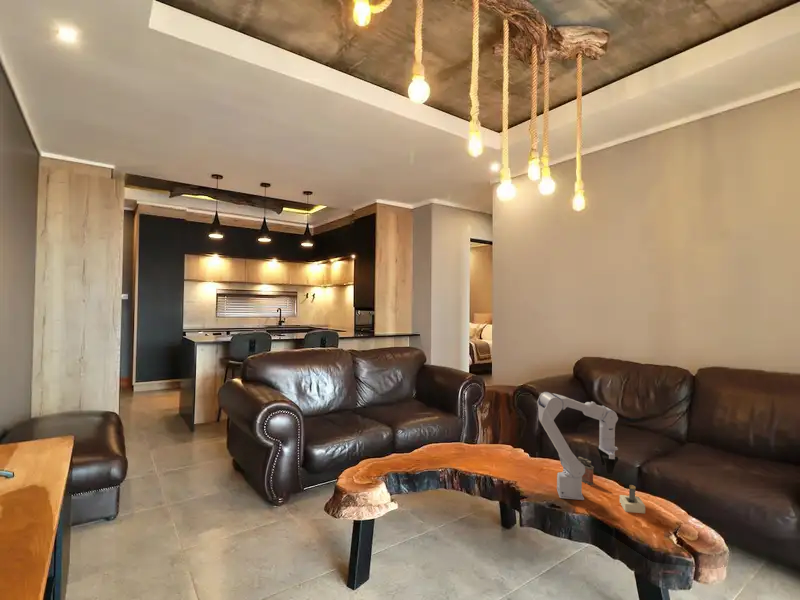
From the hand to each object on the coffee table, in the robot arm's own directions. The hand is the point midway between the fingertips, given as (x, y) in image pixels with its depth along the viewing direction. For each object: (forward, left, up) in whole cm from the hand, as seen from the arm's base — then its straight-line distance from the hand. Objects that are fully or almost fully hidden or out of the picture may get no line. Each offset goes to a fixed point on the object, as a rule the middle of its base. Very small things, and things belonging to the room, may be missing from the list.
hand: (606, 468), depth 176 cm
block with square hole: (+7, -10, -10) cm, 16 cm away
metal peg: (+7, -10, -10) cm, 16 cm away
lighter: (-6, +10, -11) cm, 16 cm away
